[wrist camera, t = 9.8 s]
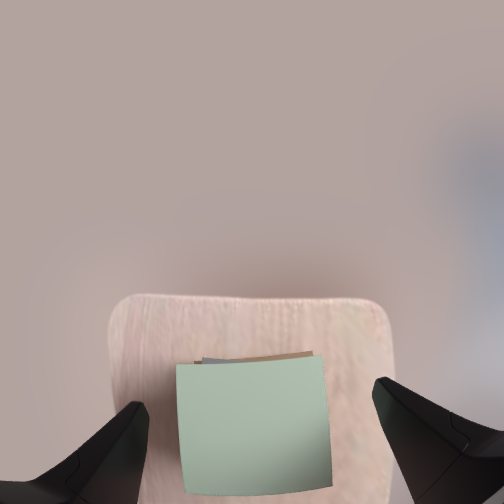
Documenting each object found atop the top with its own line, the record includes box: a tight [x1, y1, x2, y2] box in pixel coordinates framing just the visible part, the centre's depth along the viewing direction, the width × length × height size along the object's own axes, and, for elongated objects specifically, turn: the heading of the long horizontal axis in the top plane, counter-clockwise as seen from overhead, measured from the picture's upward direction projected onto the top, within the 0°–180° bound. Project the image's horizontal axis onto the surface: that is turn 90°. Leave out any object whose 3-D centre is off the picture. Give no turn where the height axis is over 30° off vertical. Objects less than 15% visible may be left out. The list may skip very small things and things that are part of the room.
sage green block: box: [176, 355, 333, 496], centre depth 12 cm, size 6×6×8 cm
